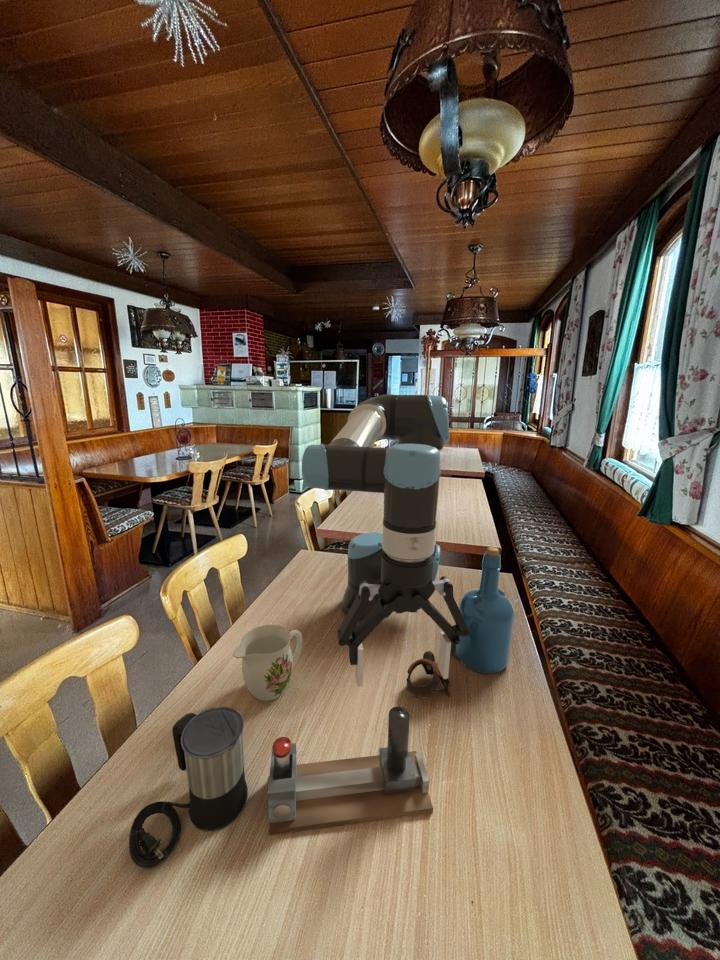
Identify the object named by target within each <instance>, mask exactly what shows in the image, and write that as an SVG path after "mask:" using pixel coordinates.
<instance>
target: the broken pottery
mask: <svg viewBox="0 0 720 960" xmlns="http://www.w3.org/2000/svg"><path fill="white" fill-rule="evenodd" d="M422 655H423V656H422V658H420V659H418V660H415V661H413V662H412V663H411V664H410V666H409V667H408V669H407V674H408V675H407V678H406V688H407V691H408V692H409V693H410V694H411V695H412V696H414V697H415V698H420V699H423V698H429V699H431V700H434V697H433V690H435V691H437V690H441V691H442V690H444V688H445V686H444V684H443V683H445V685H446V686H447V693H448V697H452V689H451V682H450V678H449V677H448V679H443V677H442V675H441V672H440V670H439V668H438V662H436V659H435V655H434V653H433V652H432V651H431V650H428V651H425V652H424V653H423V654H422ZM420 665H422V667H423V669H424V671H425V674H426V675H431V676H432V678H431V680H430V681H429V682H428V683H427V684H425V685H422V686H417V685H415V684H414V683H413V682H412V680H411V676H412V673H413V672H414V670H415V669H416V668H417V667H419V666H420Z"/></svg>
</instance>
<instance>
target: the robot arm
mask: <svg viewBox="0 0 720 960" xmlns="http://www.w3.org/2000/svg"><path fill="white" fill-rule="evenodd" d="M448 409H449V408H448V401H447V400H446V398H445V397H444V396H439V395H433V394H391V393H390V394H388V393H387V394H381V395H377V396H374V397H370V398H369V399H366V400H364V401H361V402H360V403H358V404H357V405H356V406H355V407H354V408H353V409H351V411H350V412H349V415H348V416H347V422H346V423H345V425H343V427H342V428H341V429H340V430H339V432H338V433H337V434H336V435H335V436H334V437H333V439H332V440H331V441H330V443H328V444H324V443H320V444H310V445H308V446H306V448H305V450H304V451H303V455H302V458H301V475H302V480H303V483H304V484H305V486H306V487H308V488H310V489H319V490H324V491H328V490H329V491H343V492H344V491H346V492H347V491H348V492H366V493H376V494H377V493H380V494H383V519H382V533H381V532H364V533H362V534H361V533H360V534H358V535H356V536H354V537H353V538H352V539H350V541H349V543H348V550H347V586H346V588H345V591H344V593H343V596H342V599H341V609H342V612H343V614H344V615H345V617H344V619H343V621H342V622H341V624H340V626H339V628H338V629H337V632H336V634H337V642H338V645H339V646H340V647H344V646H348V659H349V663H350V666H355V679H356V687H363V686H364V685H363V683H364V682H363V677H364V646H363V642H364V641H366V639H367V638H368V637H369V636H370V635H371V633H372V632H373V631H374V630H375V629H376V628H377V627H378V626H379V625H380V624H381V623H382V622H383V620H384V619H387V618H389V617H390V616H391V615H392V613H396V614H404V613H406V612H408V613H417V612H418V610H422V611H423V612H424V614H426V615H427V616H429V617H430V618H431V620H432V621H433V622H434V623H435V624H436V625H437V626H438V627H439V628H440V629H441V630H442V631H440V632H439V634H440V635H439V649H438V660H437V664H438V668H439V670H440V672H441V675H442V677H443V679H448V678H449V672H450V671H449V670H450V660H451V658H453V657H455V655H456V644H459V643H460V639H459V637H460V636H464V637H467V636H468V635H469V634H470V631H469V629H468V627H467V625H466V623H465V621H464V619H463V616H462V614H461V612H460V610H459V608H460V607H459V606H458V604H457V601H456V599H455V597H454V585H453V584H452V583H451V581H450V579H449V578H448V577H447V576H446V575H443V576H441V577H440V578H439V580H436V578H437V575H438V570H439V567H440V566H439V565H440V558H441V557H440V556H441V546H440V545H439V544H437V543H436V542H437V541H436V531H437V513H438V512H437V511H438V502H439V501H438V500H439V491H440V490H439V488H440V478H441V475H442V473H441V472H442V470H441V467H442V466H441V453H440V452H441V451H443V449H444V444H446V443H449V441H450V425H449V421H450V420H449V410H448ZM378 440H386V441H387V440H389V441H398V443H397V444H393V445H391V446H389V447H381V446H380V447H378V446H377V447H376V446H375V447H374V445H375V443H376V441H378ZM435 591H437V593H438V594H439V595H440V596H442V598H443V600H444V601H445V604H446V606H447V608H448V611H449V613H450V615H451V617H452V618H453V621H454V623H455V625H452V624H451V623H450V622H449V621H448V620H447V619H446V618H445V617H444V615H443V614H442V613H441V612H440V611H439V610H438V609H437V608H436V606H435V605H434V604H433V603H432V602H431V600H429V599H430V598H431V597H432V595H433V594H434V593H435Z"/></svg>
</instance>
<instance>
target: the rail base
mask: <svg viewBox="0 0 720 960" xmlns="http://www.w3.org/2000/svg"><path fill="white" fill-rule="evenodd" d="M417 752H418V751H417V750H414V751H413V750H412V751H409V755H410V759H411V762H412V766H413V770H414V773H415V777H416V786H415V787H414V791H411V792H403V793H395V794H387V795H384V779H383V774H382V769H381V767H379V765H380V759H379V754H378V755H369V756H360V757H351V758H345V759H344V758H343V759H335V760H325V761H317V762H308V763H300V764H297V763H298V762H297V761H298V760H297V742H293V743H291V751H290V753H289V761H290V770H289V772H288V773H287V774H286V775H284V776H279V775H278V774H277V773H276V761H275V755H274V754H273V745H272V747H271V755H270V756H271V757H270V766H269V767H270V768H269V778H268V789H267V802H268V817H269V818H268V820H269V824H268V825H269V827H268V836H275V835H281V834H289V833H296V832H297V833H298V832H304V831H305V832H306V831H310V830H311V831H312V830H318V829H326V828H332V827H340V826H346V825H354V824H355V825H356V824H361V823H369V822H376V821H384V820H391V819H398V818H403V817H410V816H411V817H412V816H413V817H414V816H419V815H426V814H433V813H434V806H433V804H432V801H431V797H430V793H429V789H430V779H429V775H428V772H427V768H426V766H425V762H424V759H423V756H422V752H418V753H417Z"/></svg>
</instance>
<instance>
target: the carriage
mask: <svg viewBox="0 0 720 960" xmlns="http://www.w3.org/2000/svg"><path fill="white" fill-rule="evenodd" d="M410 718H411V715H410V711H409V710H408V709H407V708H405V707H403V706H399V705H398V706H394V707H392V708H391V709H390V710H389V712H388V723H387V727H388V728H387V729H388V730H387V747H379V748H378V755H379V759H380V765H379V767H381V769H382V774H383V779H384V795H387V794H395V793H403V792H411V791H414V787H415V786H416V777H415V773H414V770H413V766H412V762H411V759H410V755H409V752H410V751H409V735H410V720H411V719H410Z"/></svg>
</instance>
